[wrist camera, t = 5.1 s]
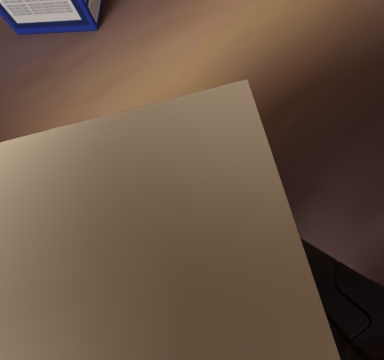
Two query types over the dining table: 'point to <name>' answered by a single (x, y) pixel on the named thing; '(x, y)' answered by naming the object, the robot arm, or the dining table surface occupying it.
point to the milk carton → (51, 15)
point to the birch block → (155, 240)
